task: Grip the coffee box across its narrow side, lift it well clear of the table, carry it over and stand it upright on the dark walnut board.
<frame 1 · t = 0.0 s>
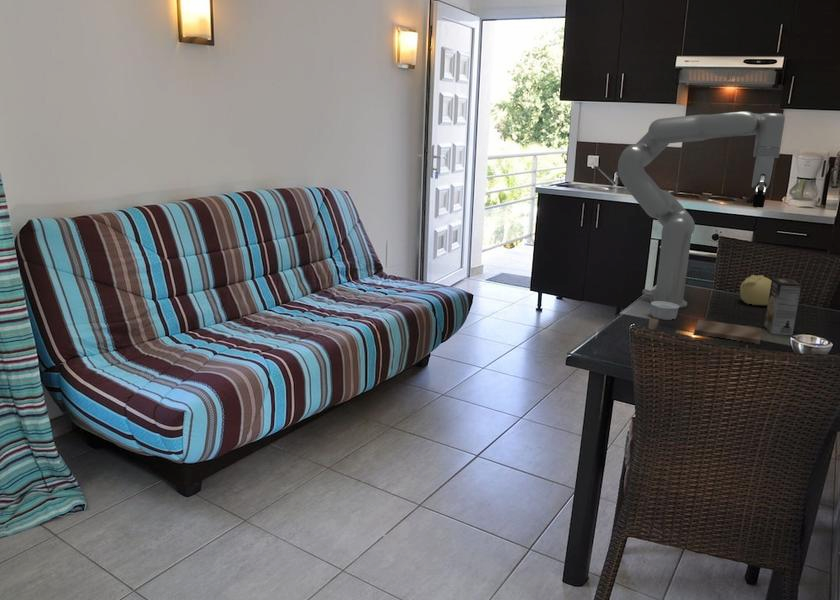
hand: (758, 205, 228), 37 cm above the table, tool pointing down, fingers open, 9 cm apart
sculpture: (755, 304, 252), on the table
ramekin: (663, 317, 229), on the table
coffee box: (778, 331, 217), on the table
walnut board: (727, 333, 212), on the table
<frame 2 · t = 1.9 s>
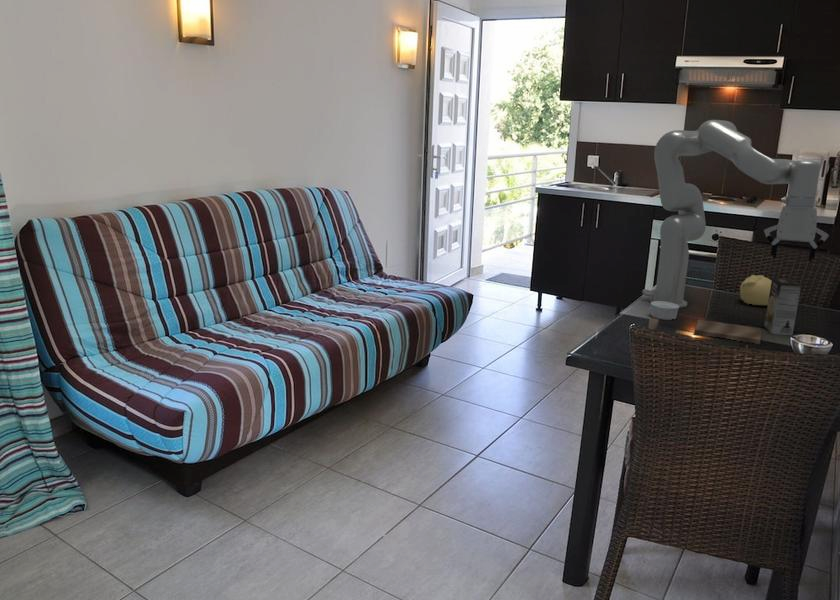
hand: (791, 259, 211), 23 cm above the table, tool pointing down, fingers open, 9 cm apart
nothing on the table moved.
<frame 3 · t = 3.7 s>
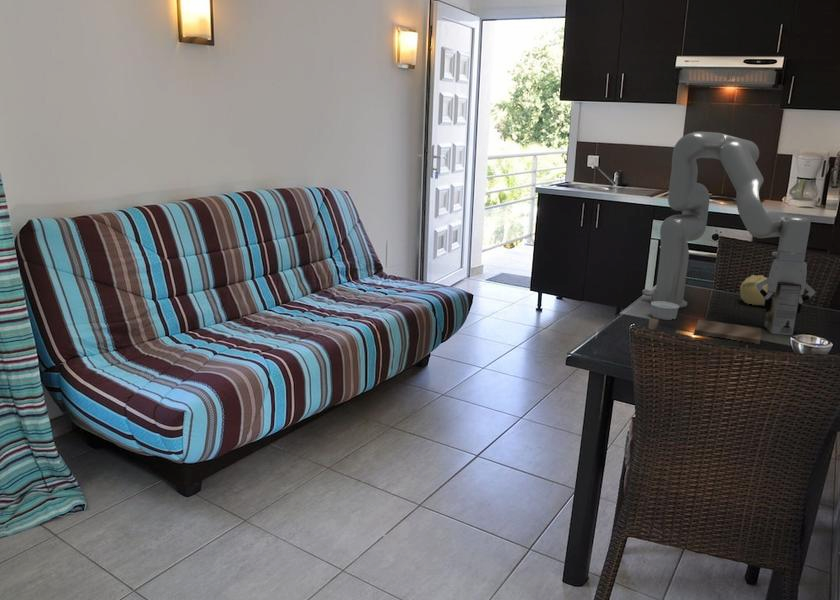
hand: (781, 312, 216), 6 cm above the table, tool pointing down, fingers closed on coffee box, 7 cm apart
coffee box: (778, 331, 217), on the table, touching gripper
everything else where it was.
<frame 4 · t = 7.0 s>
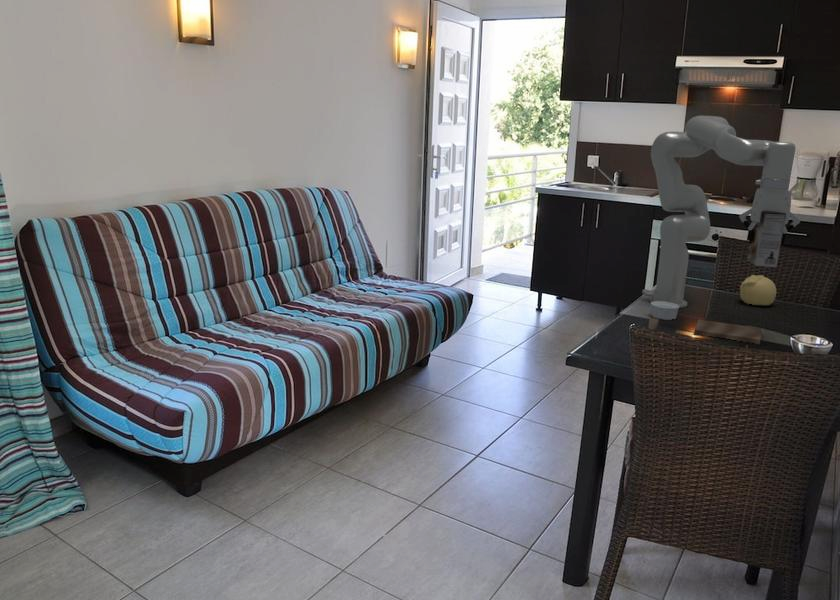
hand: (764, 244, 208), 28 cm above the table, tool pointing down, fingers closed on coffee box, 7 cm apart
coffee box: (761, 264, 209), point 21 cm above the table, touching gripper
everything else where it was.
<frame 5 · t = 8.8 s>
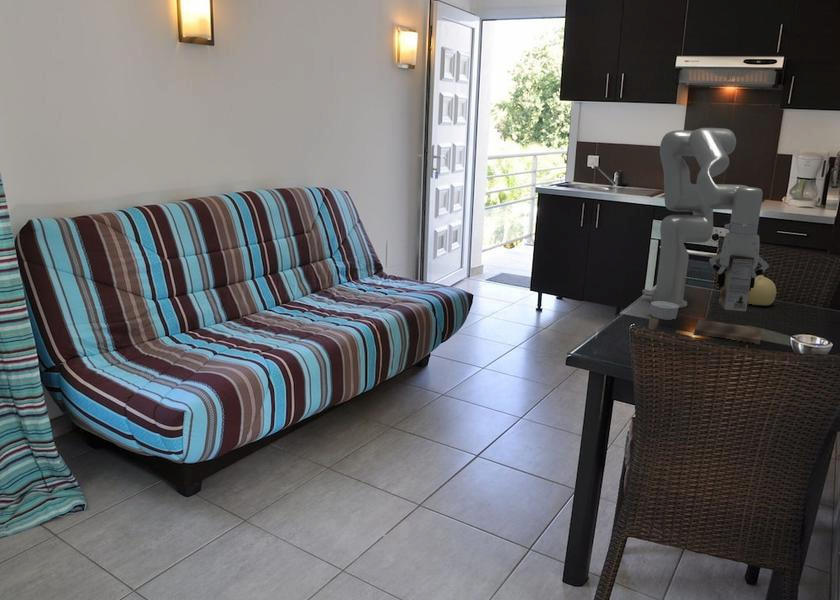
hand: (734, 288, 208), 14 cm above the table, tool pointing down, fingers closed on coffee box, 7 cm apart
coffee box: (732, 307, 209), point 8 cm above the table, touching gripper
everything else where it was.
when the fingers open (8 cm above the table, at t = 10.5 s): coffee box stays where it is, resting on walnut board.
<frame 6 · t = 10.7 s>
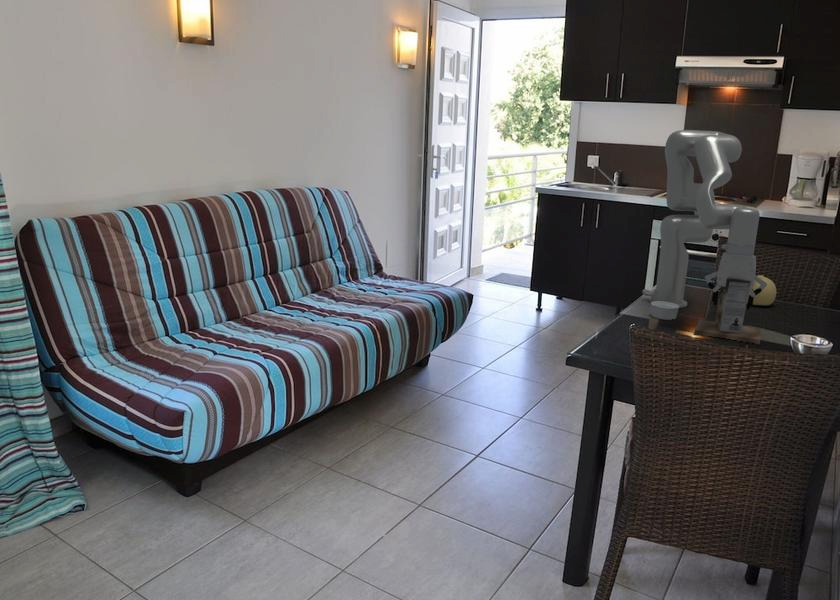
hand: (731, 306, 210), 9 cm above the table, tool pointing down, fingers open, 8 cm apart
coffee box: (727, 329, 211), point 1 cm above the table, touching walnut board
everything else where it was.
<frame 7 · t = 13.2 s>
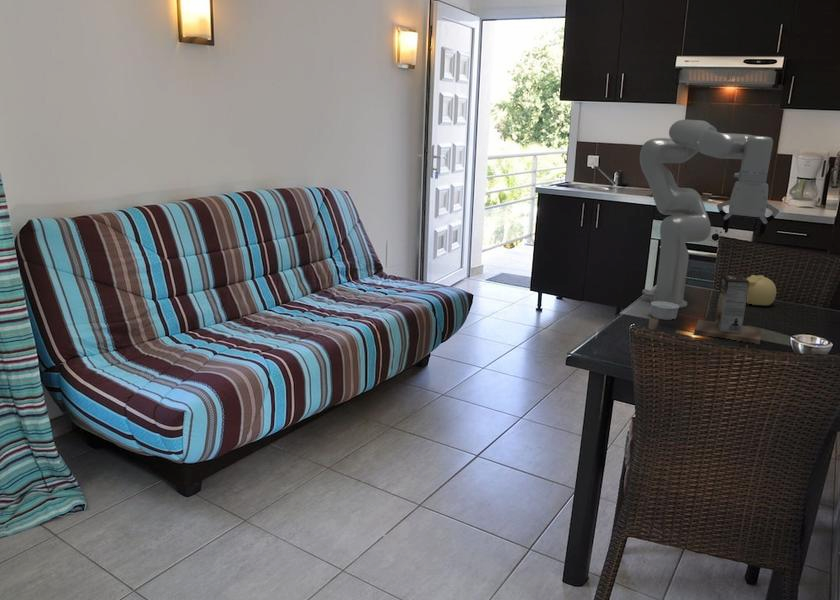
hand: (742, 234, 213), 29 cm above the table, tool pointing down, fingers open, 9 cm apart
nothing on the table moved.
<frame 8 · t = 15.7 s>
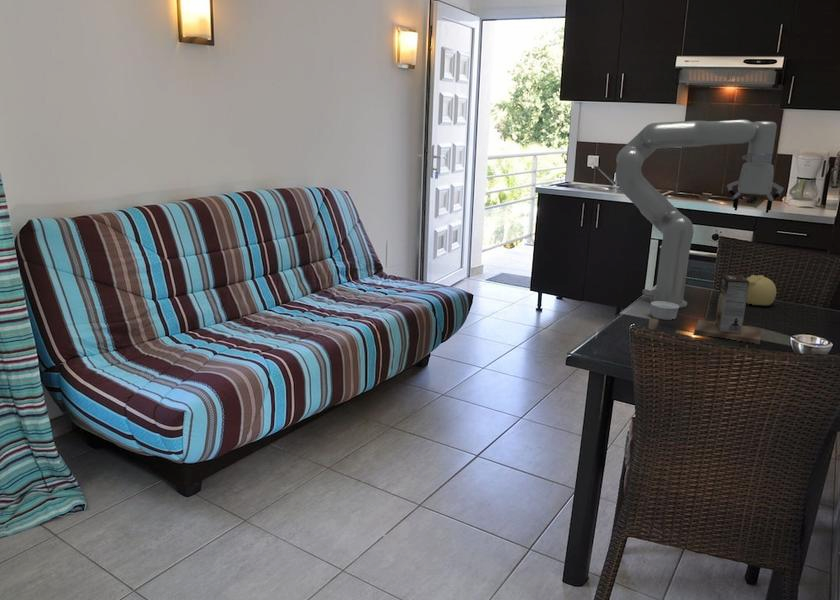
hand: (751, 211, 234), 34 cm above the table, tool pointing down, fingers open, 9 cm apart
nothing on the table moved.
at the end: coffee box inside the target area on the walnut board (0.1 cm from its centre), point 1.3 cm above the walnut board's base; coffee box tilted 0°; the gripper is holding nothing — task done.
